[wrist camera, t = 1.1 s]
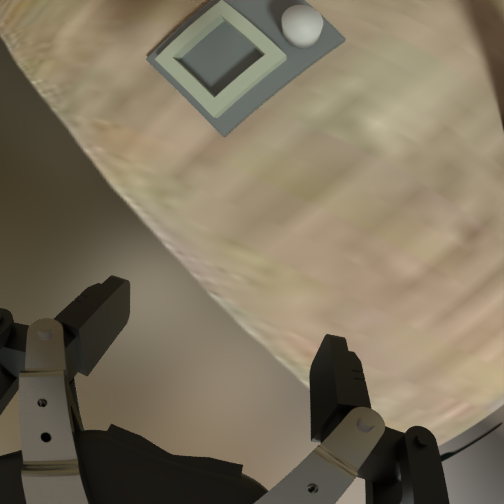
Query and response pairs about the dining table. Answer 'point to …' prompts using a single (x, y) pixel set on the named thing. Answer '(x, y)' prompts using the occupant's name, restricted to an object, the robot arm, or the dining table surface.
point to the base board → (242, 54)
